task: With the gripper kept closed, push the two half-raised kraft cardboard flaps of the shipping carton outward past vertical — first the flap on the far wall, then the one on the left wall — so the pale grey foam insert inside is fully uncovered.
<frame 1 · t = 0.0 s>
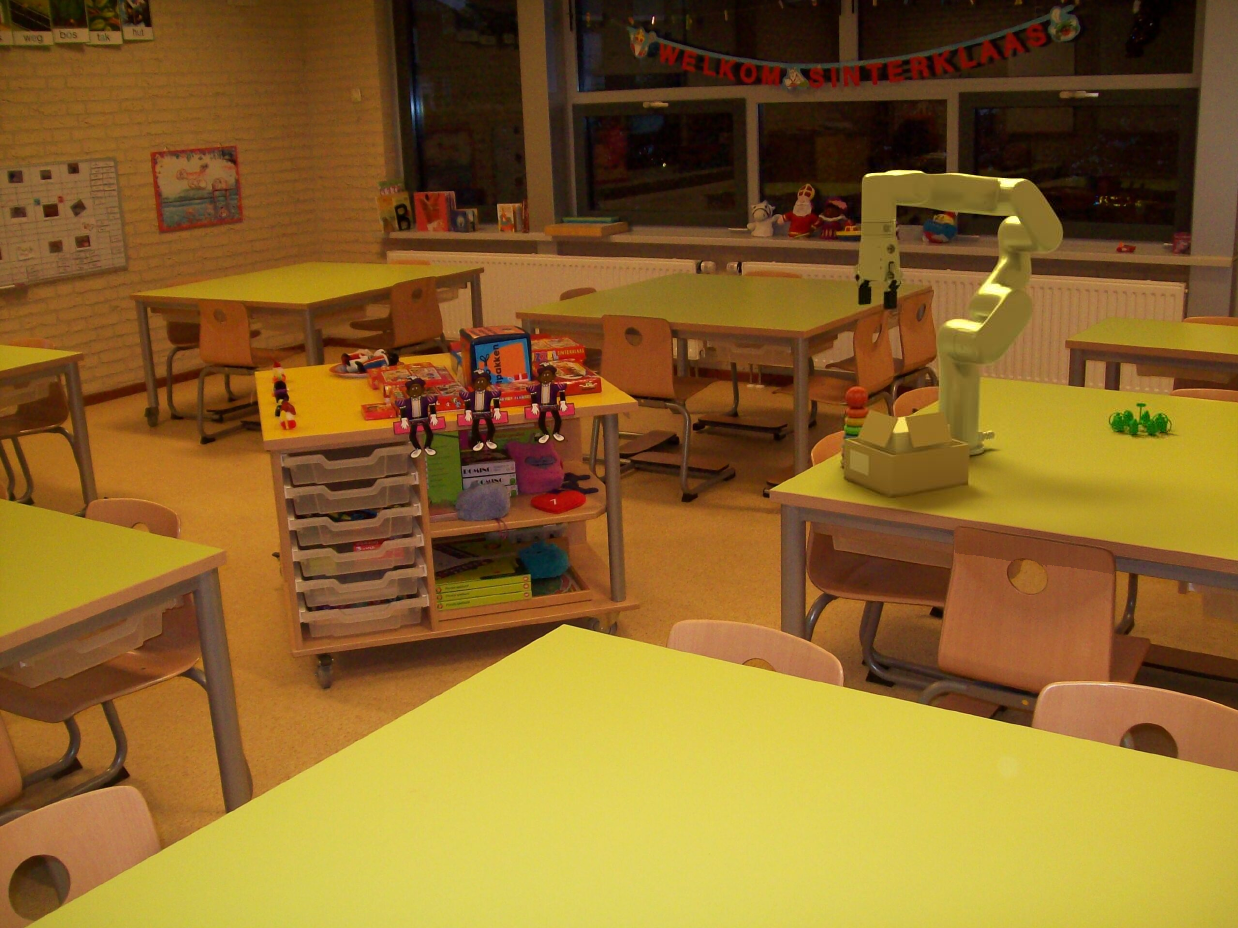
hand: (877, 306, 276), 37 cm above the table, tool pointing down, fingers open, 9 cm apart
carton: (905, 481, 270), on the table
flap far: (877, 428, 264), point 13 cm above the table, hinge at 62.0°
chandelier: (1139, 431, 308), on the table
stacking toy: (857, 467, 284), on the table
flap left: (928, 429, 262), point 13 cm above the table, hinge at 62.0°
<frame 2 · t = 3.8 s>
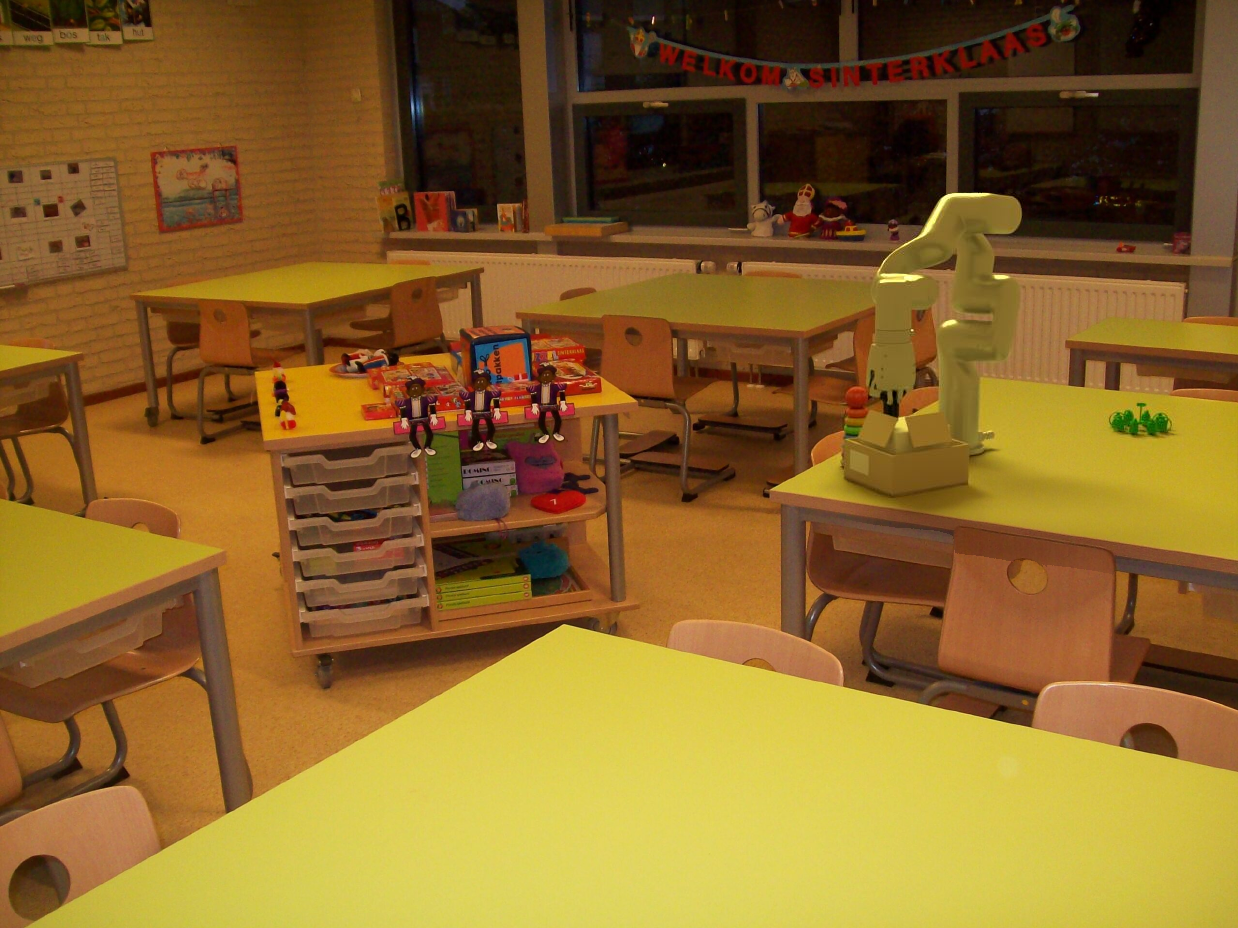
hand: (890, 420, 265), 14 cm above the table, tool pointing down, fingers closed
flap far: (877, 428, 264), point 13 cm above the table, hinge at 62.3°, touching gripper
everything else where it was.
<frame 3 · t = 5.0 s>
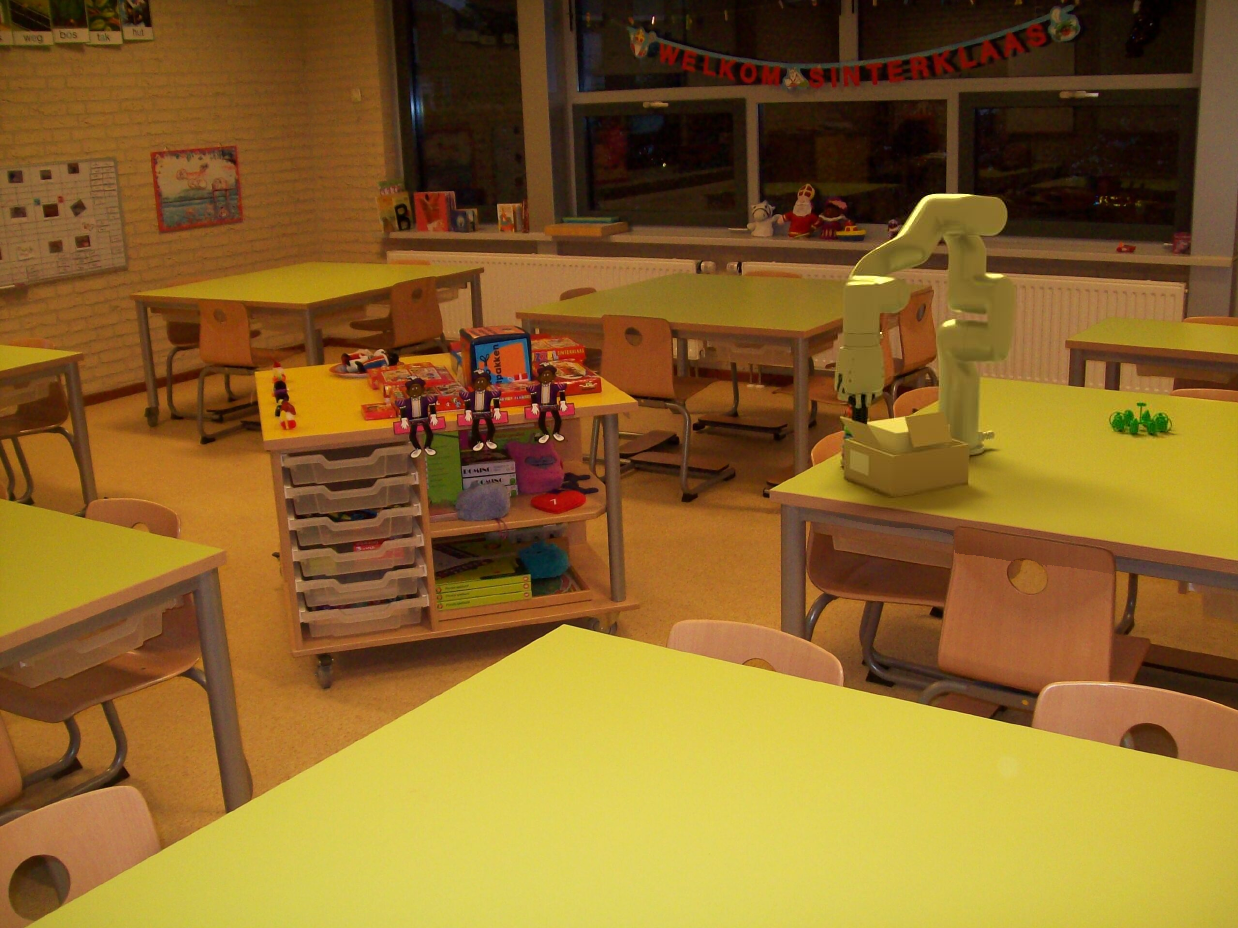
hand: (859, 424, 262), 14 cm above the table, tool pointing down, fingers closed
flap far: (861, 432, 263), point 13 cm above the table, hinge at 126.4°, touching gripper
everything else where it was.
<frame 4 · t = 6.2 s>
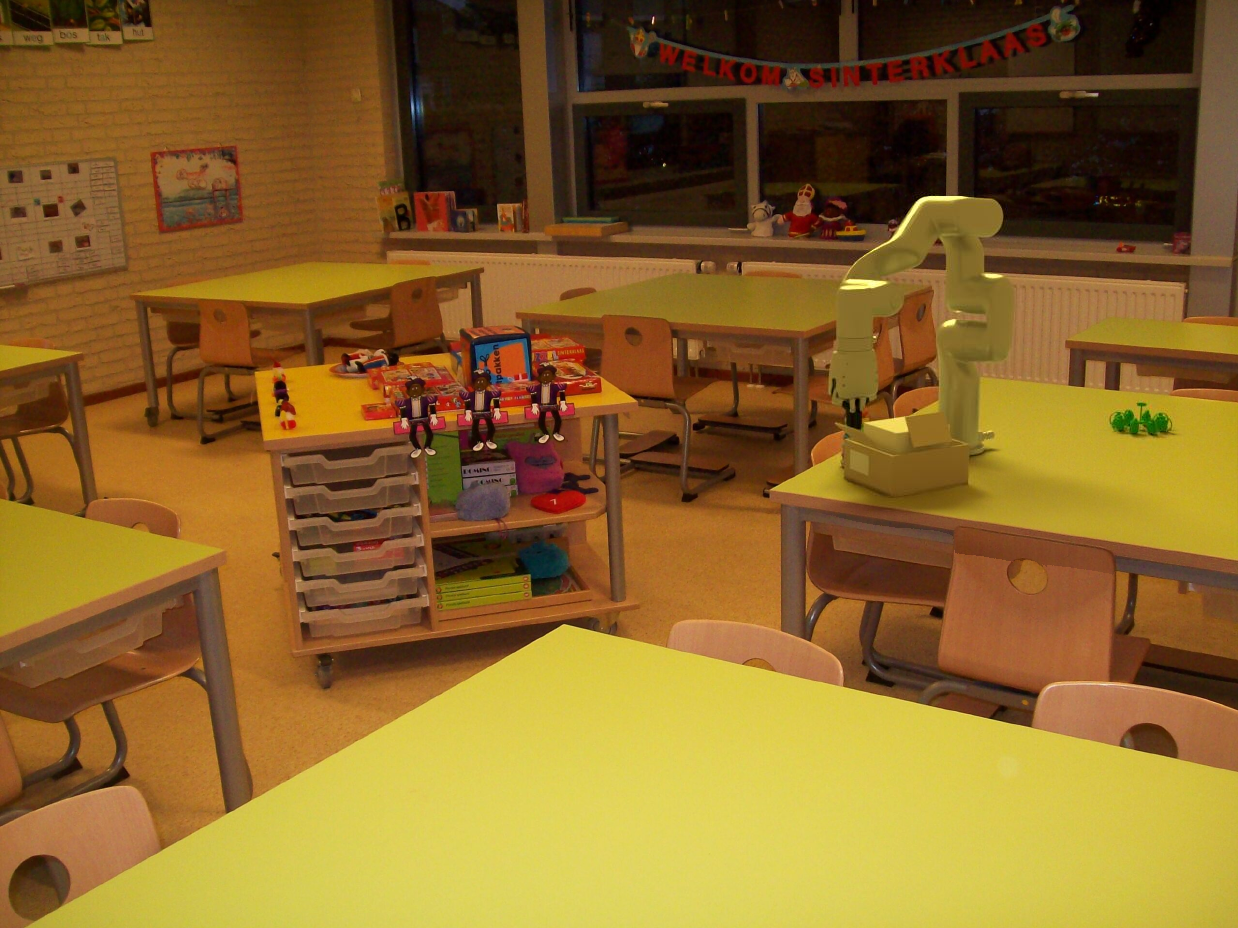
hand: (854, 428, 262), 14 cm above the table, tool pointing down, fingers closed
flap far: (858, 435, 263), point 12 cm above the table, hinge at 140.2°, touching gripper
everything else where it was.
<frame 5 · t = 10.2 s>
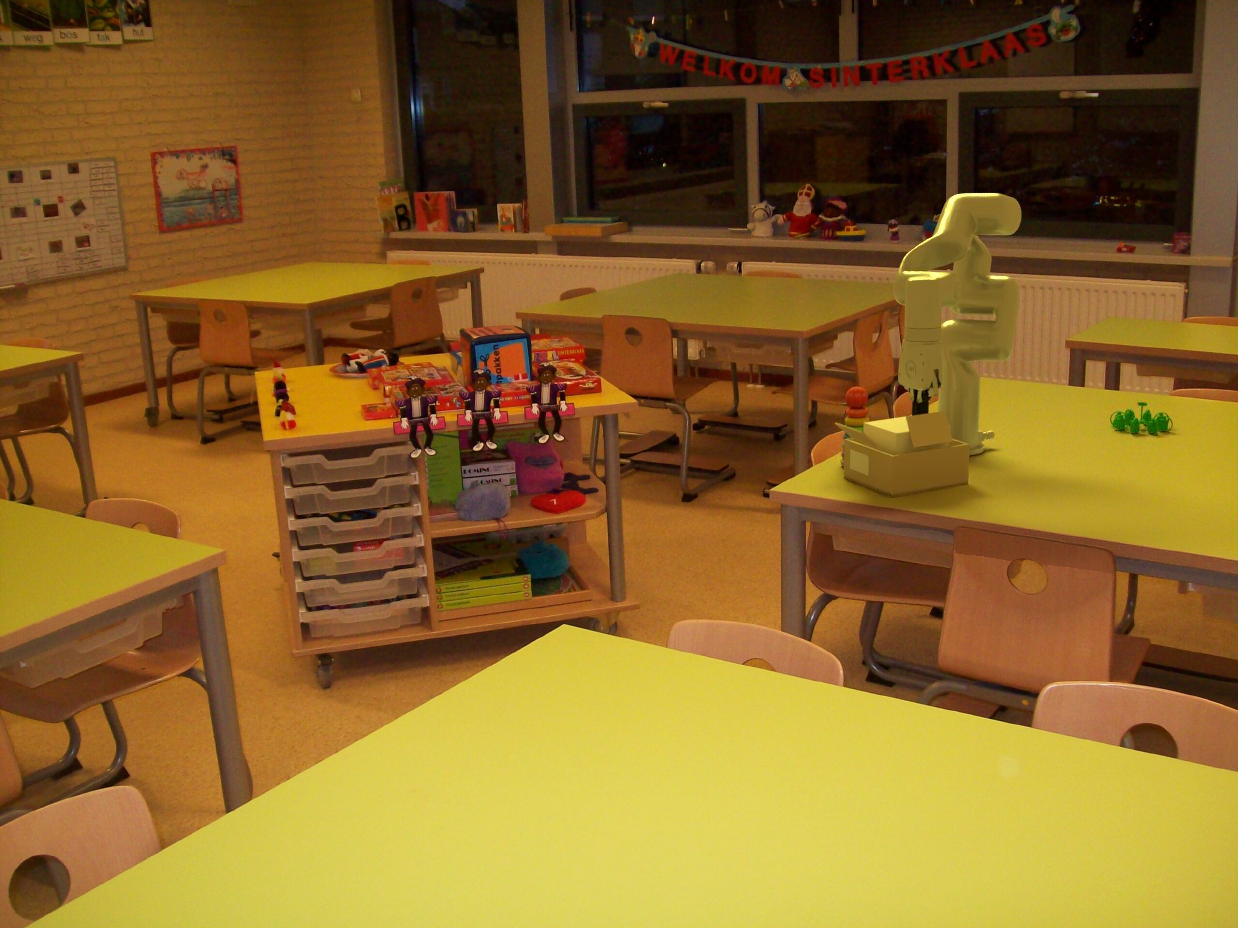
hand: (920, 419, 264), 15 cm above the table, tool pointing down, fingers closed
flap far: (858, 435, 263), point 12 cm above the table, hinge at 140.3°
flap left: (929, 429, 262), point 13 cm above the table, hinge at 65.0°, touching gripper
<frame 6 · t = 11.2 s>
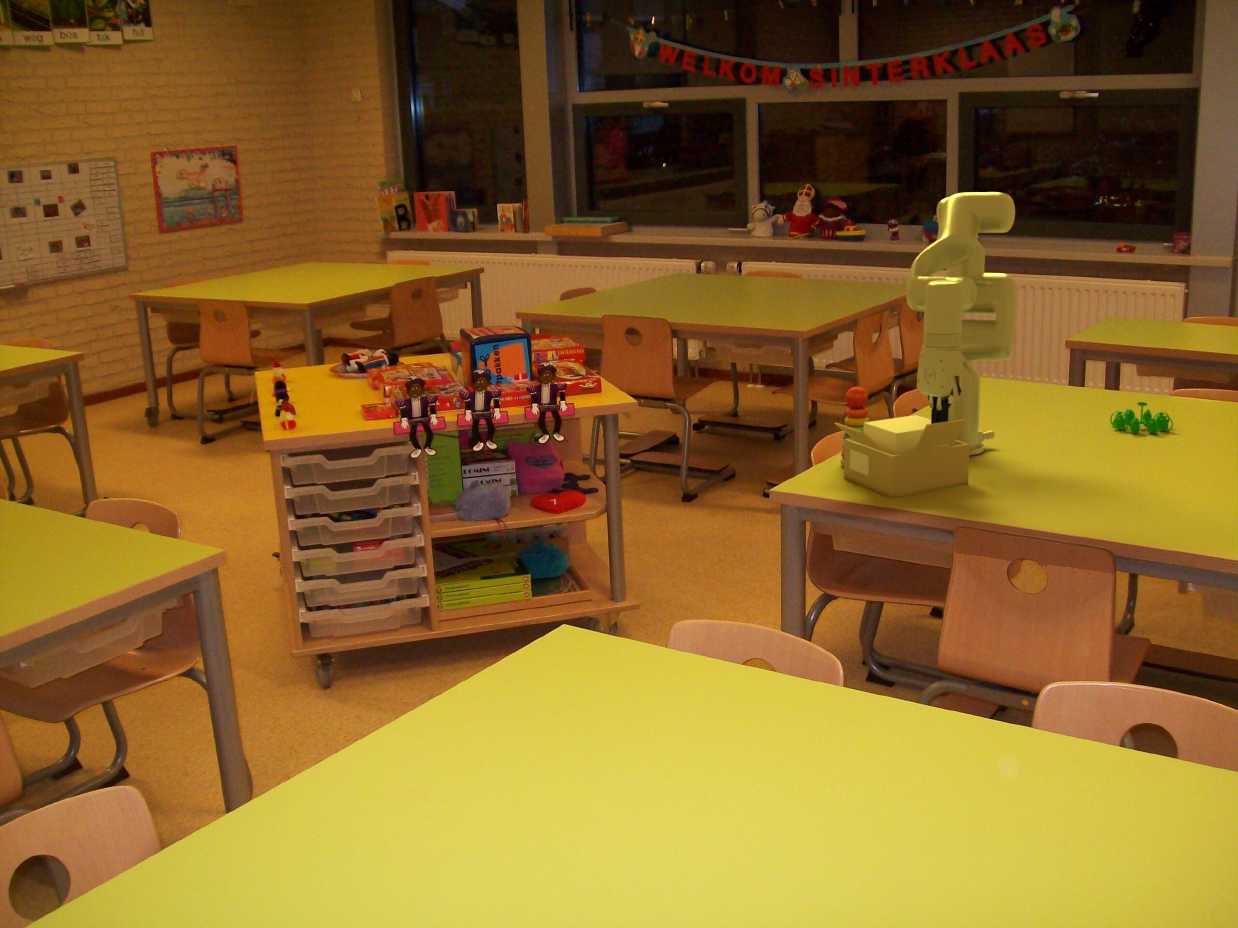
hand: (939, 427, 258), 14 cm above the table, tool pointing down, fingers closed
flap left: (940, 433, 258), point 13 cm above the table, hinge at 122.4°, touching gripper
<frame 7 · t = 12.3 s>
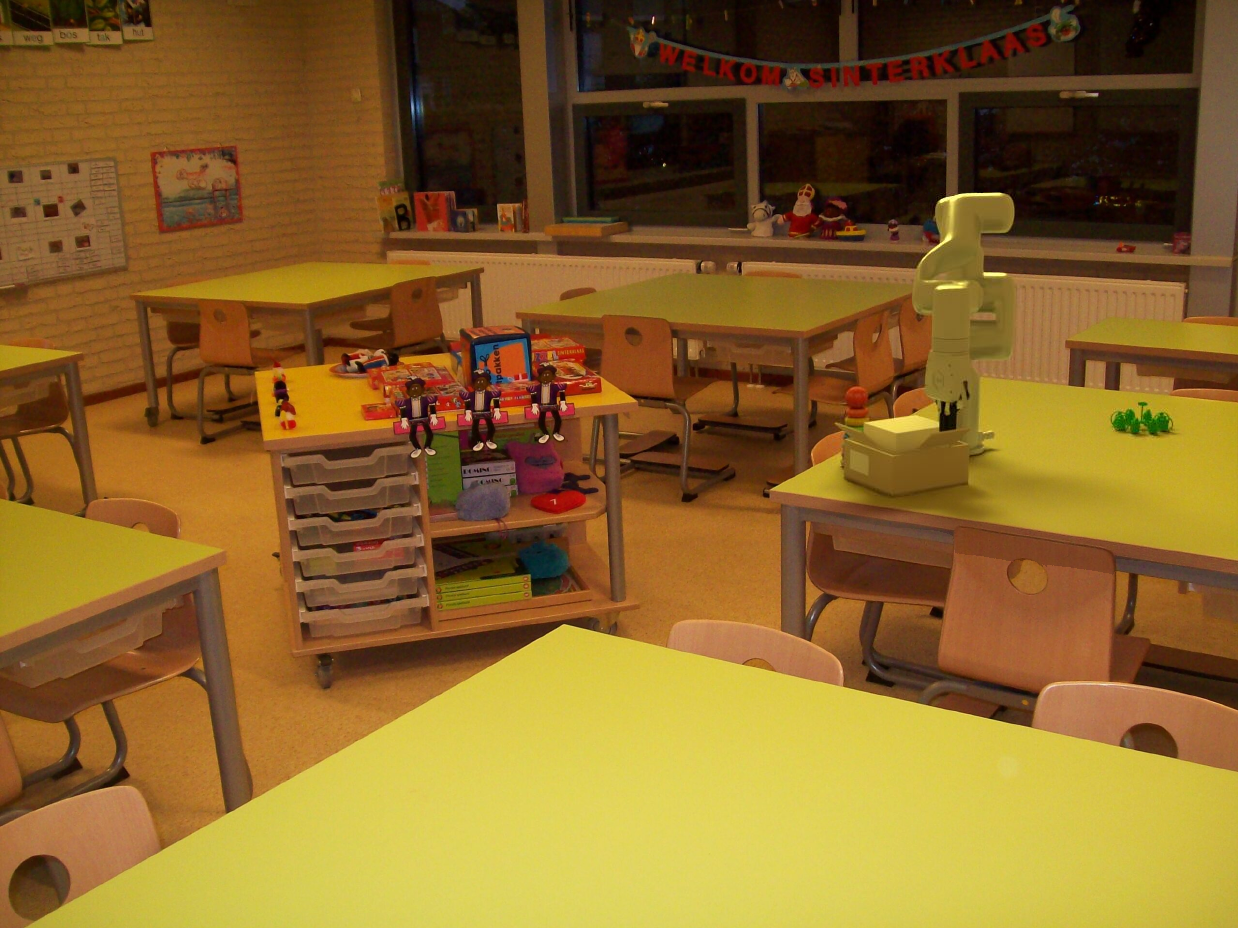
hand: (947, 431, 256), 14 cm above the table, tool pointing down, fingers closed
flap left: (943, 438, 258), point 12 cm above the table, hinge at 140.4°, touching gripper
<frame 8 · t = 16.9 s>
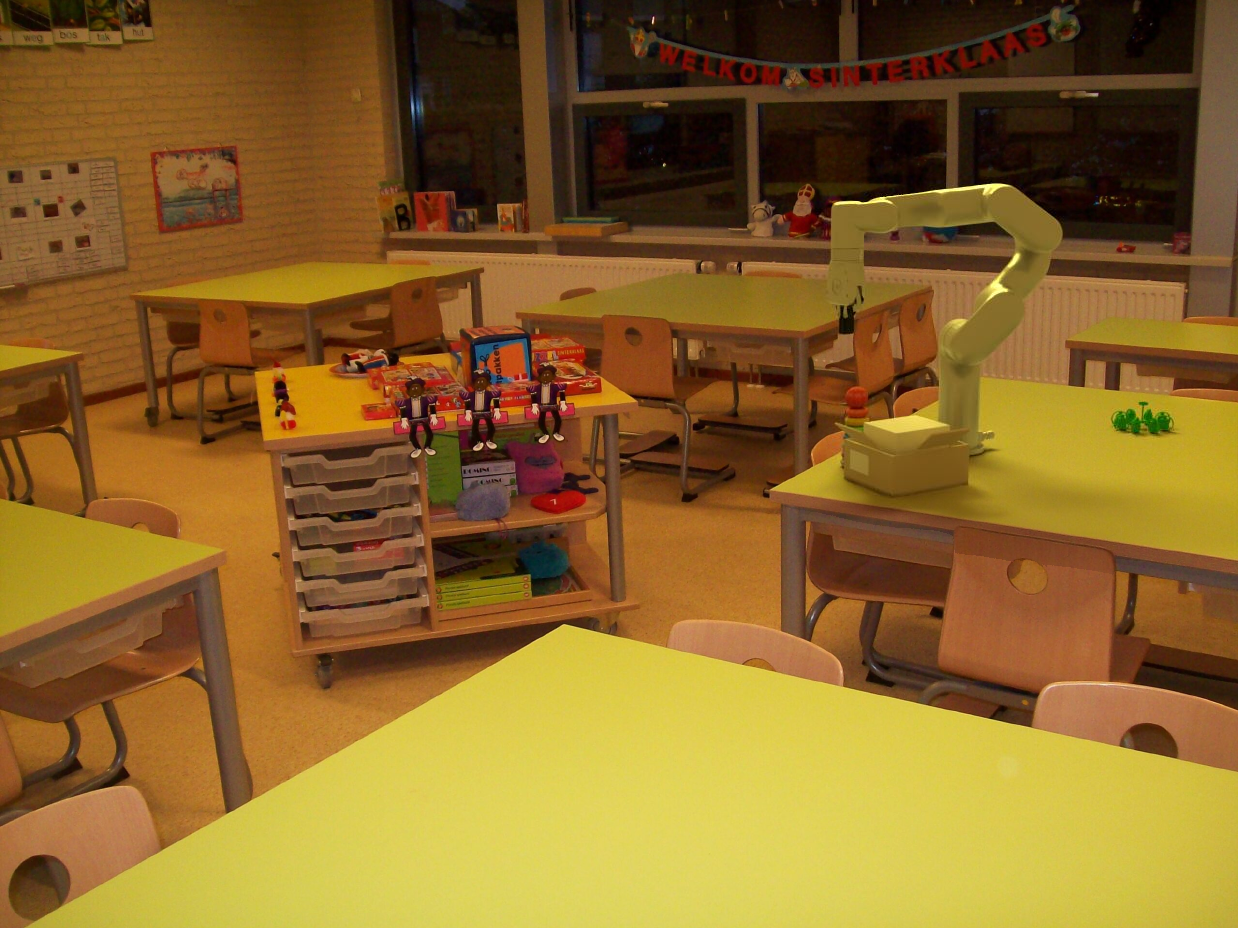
hand: (846, 333, 289), 29 cm above the table, tool pointing down, fingers closed
flap left: (943, 438, 258), point 12 cm above the table, hinge at 140.8°
at the end: flap far at +140° (first picture: +62°); flap left at +141° (first picture: +62°) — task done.
